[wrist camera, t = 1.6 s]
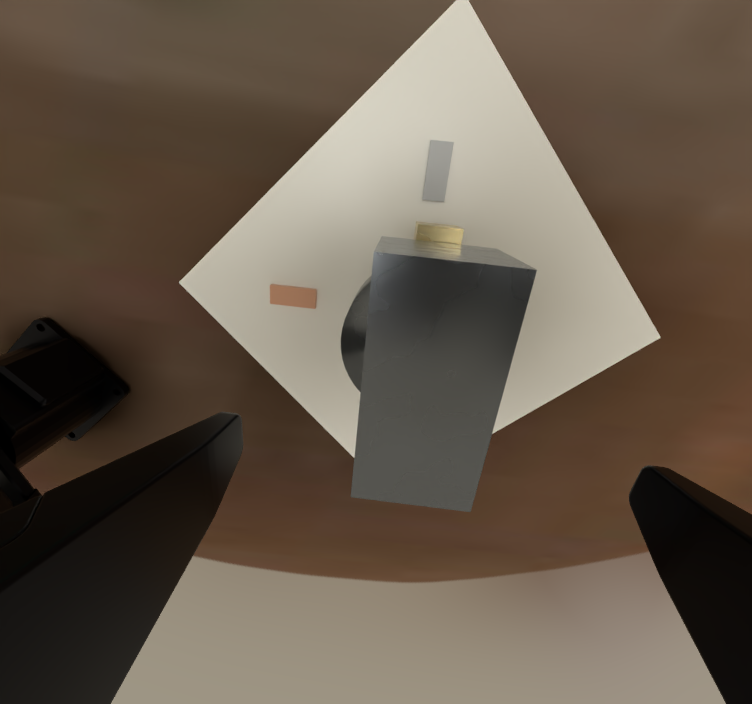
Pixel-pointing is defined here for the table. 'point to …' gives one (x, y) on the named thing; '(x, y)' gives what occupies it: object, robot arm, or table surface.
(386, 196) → the post plate
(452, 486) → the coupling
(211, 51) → the table surface
